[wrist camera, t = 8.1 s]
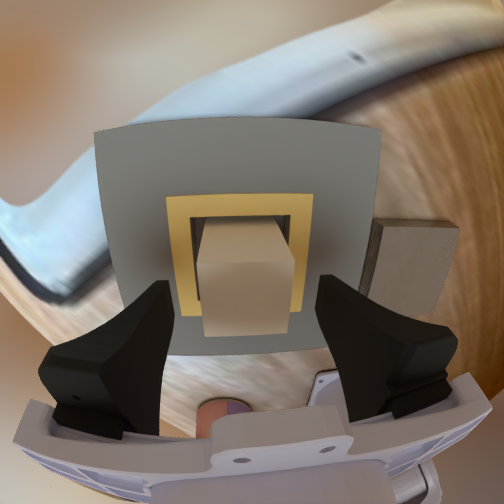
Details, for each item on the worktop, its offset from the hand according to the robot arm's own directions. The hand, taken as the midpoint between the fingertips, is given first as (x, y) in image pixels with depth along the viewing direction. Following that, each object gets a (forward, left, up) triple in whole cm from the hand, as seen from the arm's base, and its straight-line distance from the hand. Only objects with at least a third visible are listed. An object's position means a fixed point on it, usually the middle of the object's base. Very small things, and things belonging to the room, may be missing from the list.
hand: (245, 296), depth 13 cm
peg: (0, 0, -5) cm, 5 cm away
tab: (-2, -13, -5) cm, 14 cm away
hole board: (0, 0, -5) cm, 5 cm away
